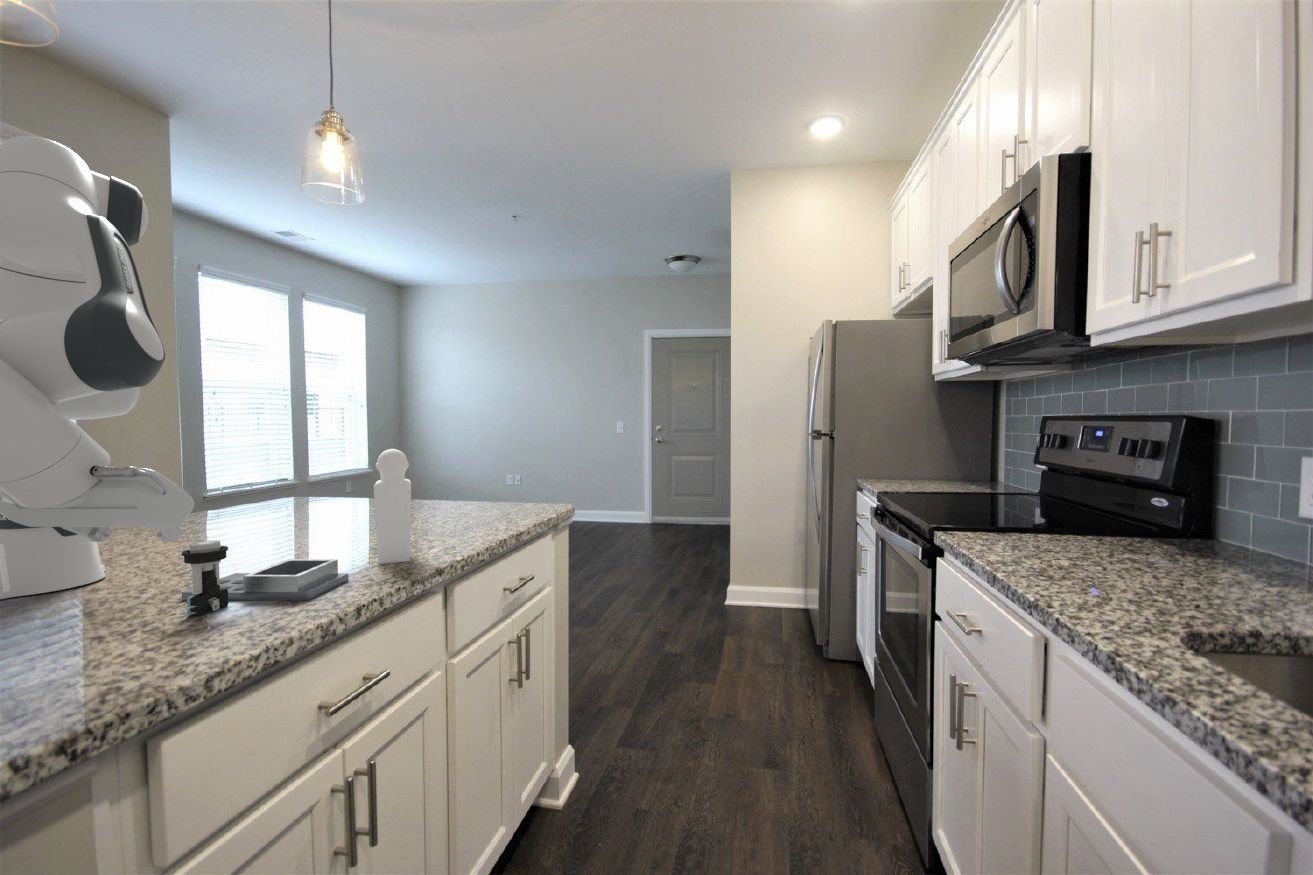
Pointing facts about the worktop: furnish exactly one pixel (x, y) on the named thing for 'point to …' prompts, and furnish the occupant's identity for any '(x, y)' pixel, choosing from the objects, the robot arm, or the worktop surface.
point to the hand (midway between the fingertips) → (139, 537)
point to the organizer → (283, 581)
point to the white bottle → (392, 508)
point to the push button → (205, 577)
